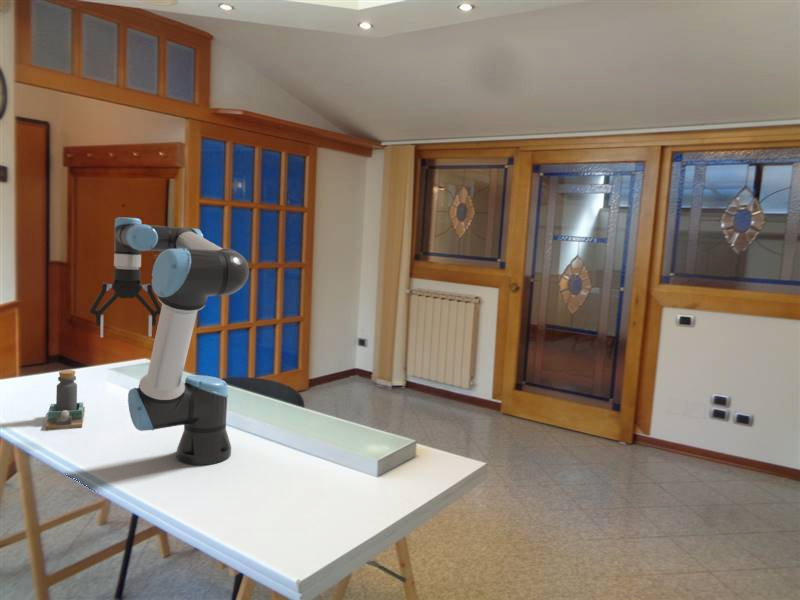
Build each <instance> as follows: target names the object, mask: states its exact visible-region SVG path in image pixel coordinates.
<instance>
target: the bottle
mask: <svg viewBox="0 0 800 600" xmlns="http://www.w3.org/2000/svg"><path fill="white" fill-rule="evenodd" d="M58 374H59V376H58V377H57V381H58V382H59V383H57V385H56V403H55V404H56V411H63V410H77V403H78V384H77V383H76V382H75V381H76V380H77V376H75V375H76V371H75V370H73V369H65V370H64V369H63V370H60V371H58Z"/></svg>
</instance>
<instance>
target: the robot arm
mask: <svg viewBox="0 0 800 600" xmlns="http://www.w3.org/2000/svg"><path fill="white" fill-rule="evenodd" d="M113 231H114V235H113V236H114V238H113V240H114V242H113V243H114V244H113V247H114V248H113V249H114V251H113V252H114V254H113V256H114V257H113V266H114V267H115V268H114V269H113V283H107V282H103V283H102V285H101V290H100V292H99V294H98V295H97V297H96V299H95V300H94V303H93V304H92V306H91V308H90V309H89V314H93V315H95V317H96V319H95V321H96V324H95V325H96V326H97V327H100V336H99V337H100V338H104V314H103V313H104V312H105V311H106V310H107V309H108V308H109V307H110V306H111V305H112V304H113V303H114V302H115V300H117V299H118V298H120V299H134V298H136V299H137V300H138V301H139V302H140V303H141V304H142V306H143V307H145V309H146V310H147V311H148V312H149V313H150V314H149V315H148V334H147V335H148V337H150V338H151V337H152V335H153V333H152V332H153V327H154V326H156V325H157V329H156V332H155V335H154V336H155V337H154V340H153V341H154V342H153V347H152V351H151V356H150V362H149V365H148V371H147V374H145V375H144V376H142V378H140V381H139V382H138V383H139V384H138V387H134V388H131V389H129V391H128V395H127V401H128V402H127V404H128V411H129V416H130V418H131V421H132V424H133V426H134V427H135V429H136V430H138V431H141V432H143V431H145V432H146V431H154V430H160V429H166V428H171V427H172V428H173V427H177V426H184V427H183V432H182V435H181V437H180V439H179V443H178V445H177V447H176V459H177V460H178V461H180V462H182V463H184V464H189V465H195V466H196V465H203V466H204V465H212V464H213V465H214V464H217V463H221V462H223V461H225V460H228V459H229V458H230V457H231V456H232V445H231V441H230V439H229V435H228V431H227V413H228V411H227V410H228V407H227V406H228V397H229V395H228V383H227V382H226V381H225V380H223V379H221V378H219V377H215V376H210V375H203V374H202V375H199V374H196V375H194V374H193V375H189V376H186V378H185V380H184V381H183V380H182V378H183V373H184V371H185V370H184V369H185V365H186V361H187V357H188V352H189V348H190V344H191V340H192V335H193V332H194V331H193V330H194V329H195V323H196V320H197V316H198V311H200V310H202V309H203V308H204V307H206V304H207V301H208V297H220V296H221V297H223V296H228V295H232V294H235V293H236V292H238V291H239V290H241V289H242V288H243V287H244V286H245V285H246V283H247V280H248V279H249V274H250V268H249V267H250V266H249V264H248V261H247V260H246V258H245V257H244V256H243V255H242V254H240V253H239V252H238V251H236V250H234V249H232V248H228V247H227V248H222V247H221V246H218V245H217V244H215V243H214V242H211V240H210V241H209V239H206V238H204V234H203V233H202V231H201V230H200V229H199V228H192V227H177V226H176V227H175V226H168V225H167V226H165V225H155V224H154V225H152V224H146V223H143V224H142V220H141V219H140V218H137V217H122V216H121V217H120V216H119V217H116V218H115V219H114V226H113ZM144 251H145V252H146V251H153V252H155V251H156V252H160V253H159V254H158V256H157V258H156V259H155V261H154V264H153V267H152V271H151V277H152V279H151V284H150V283H147V284H142V283H141V282H142V281H141V278H142V277H141V275H142V273H141V269H140V268H141V267H142V252H144ZM110 289H112V290H113V292H114V294H112V295H111V296H110V298H109V299H107V301H106V302H105V303H104V304H103V305H102V306H101V307H100V308H99V309H98V310H97V308H98V307H99V305H100V304H101V301H102V299H103V298H104V296H105V294H106V292H108V291H110ZM142 289H143V290H144V291H145V292H147V294H148V296H149V298H150V299H151V301H152V304H153V305H154V307H155V309H156V310H154V309H153V307H152V306H151V305H149V303H148V302H147V301H146V300H145V298H143V296H141V294H140V292H141V291H142ZM153 292H154V293H153ZM154 294H155V295H156V296H157V298H156V297H155V295H154ZM157 299H158V301H159V302H160V304H161V306H160V304H159V302H158V301H157ZM157 315H158V316H159V318H158V323H157V322H156V321H157Z"/></svg>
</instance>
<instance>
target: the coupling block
mask: <svg viewBox="0 0 800 600" xmlns="http://www.w3.org/2000/svg"><path fill="white" fill-rule="evenodd" d="M85 412H86V411H85V406H84V402H77V410H63V411H56V403H51V404H50V406H49V409H48V411H47V421H46V424H45V427H44V428H45V429H44V430H45V431H51V430H54V431H55V430H66V429H67V430H68V429H79V428H80V429H81V428H83V424H84V415H85Z"/></svg>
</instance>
